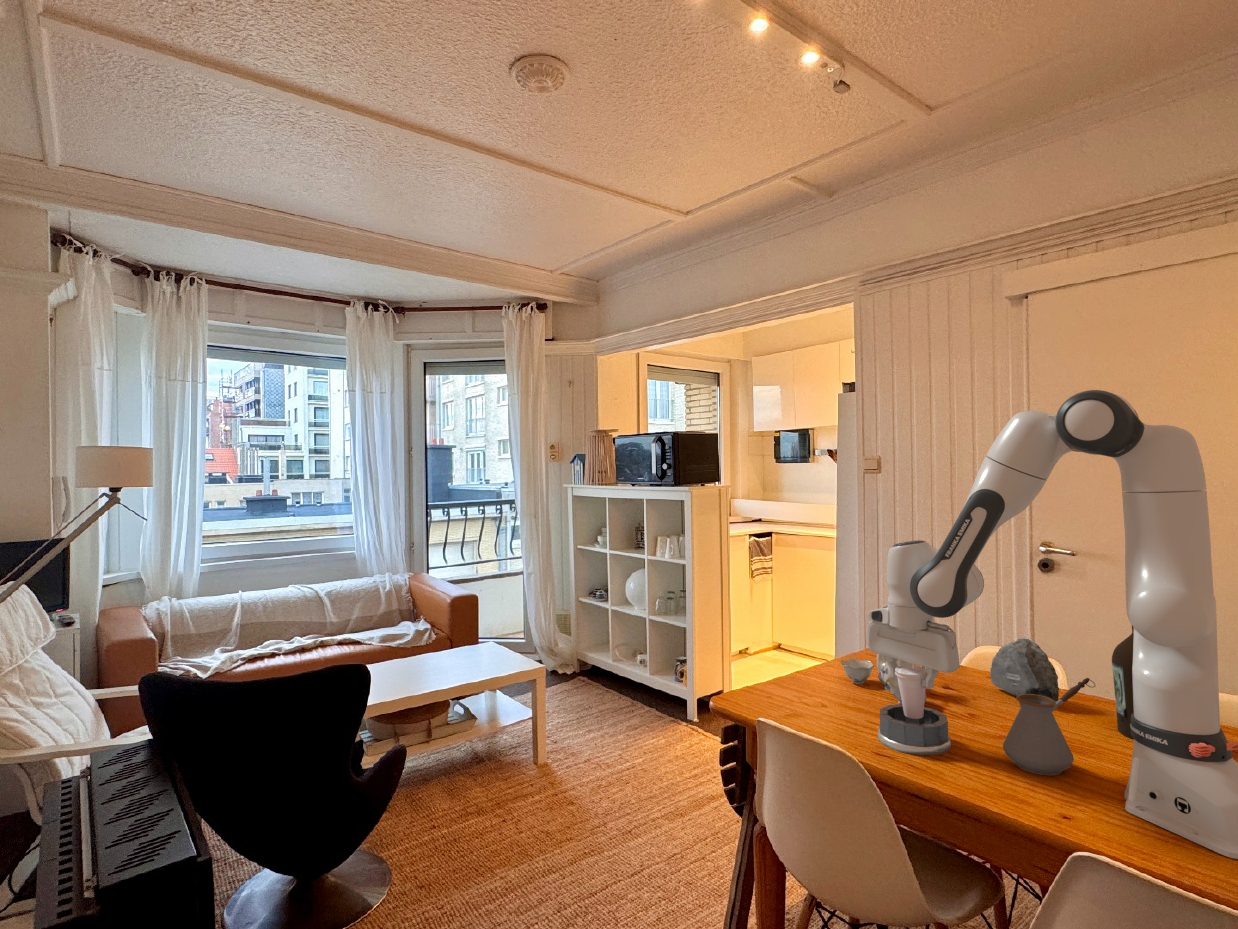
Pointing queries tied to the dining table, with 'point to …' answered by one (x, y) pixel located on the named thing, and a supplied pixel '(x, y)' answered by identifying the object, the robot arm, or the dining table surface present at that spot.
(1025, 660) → the decorative rock
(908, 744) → the ring
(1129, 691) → the olive oil
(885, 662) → the chinaware
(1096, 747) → the dining table surface
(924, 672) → the smoothie
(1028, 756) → the coffee pot
